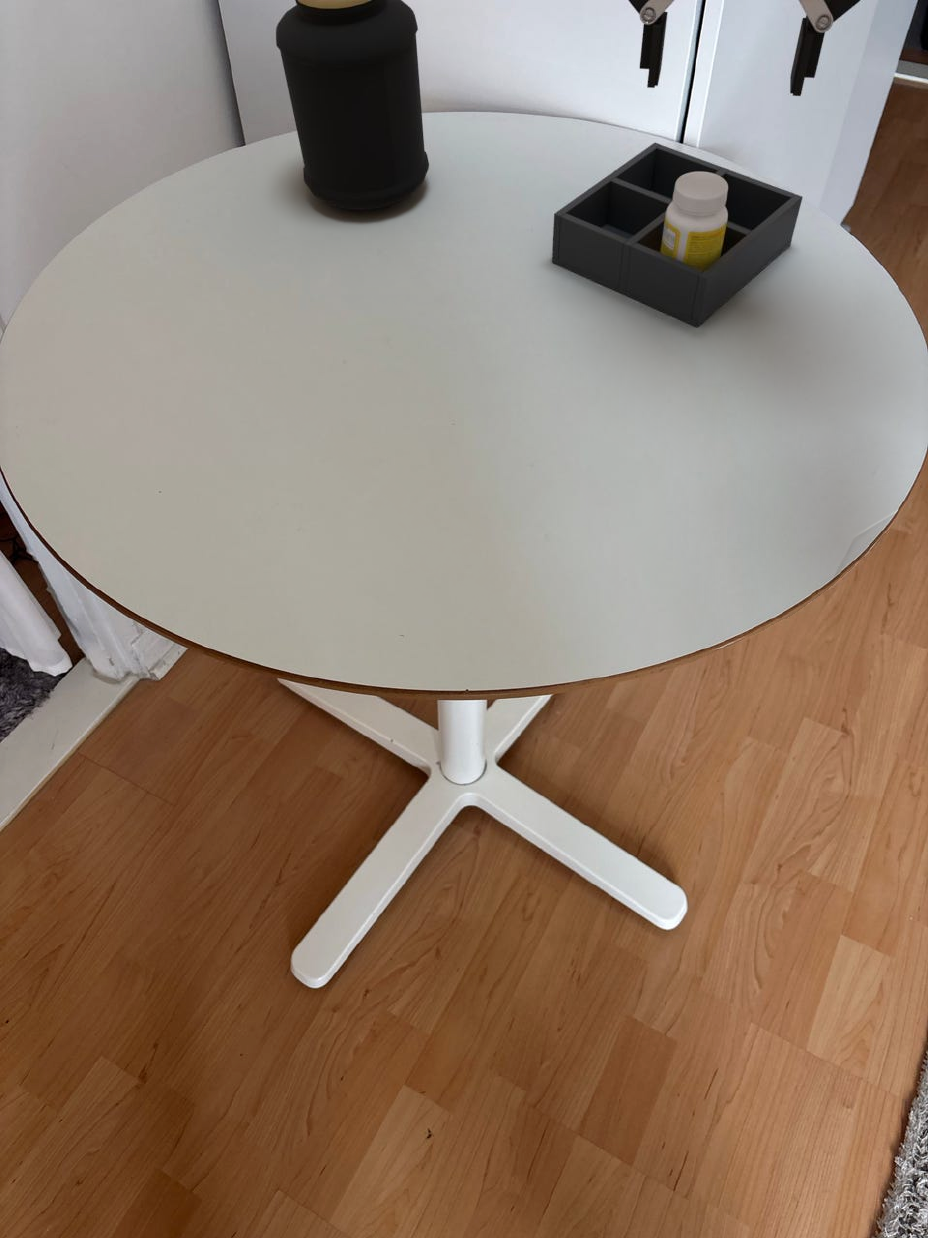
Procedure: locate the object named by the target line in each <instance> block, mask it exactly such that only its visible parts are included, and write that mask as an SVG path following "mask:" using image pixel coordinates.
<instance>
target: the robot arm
mask: <svg viewBox="0 0 928 1238" xmlns="http://www.w3.org/2000/svg"><path fill="white" fill-rule="evenodd" d="M627 1H628V2H629V3H630V5H631V6H632V7H633V8H634V9H635V11H636V12H637V13H638V15H639V20H640V21H641V23H642V24H643V26H642V27H643V28H642V36H641V37H642V38H641V47H640V50H641V51H640V58H639V69H640V70H648V76H647V85H646V88H649V89H650V88H651V89H655V88H656V87H659V82H660V77H661V73H662V65H663V57H664V56H663V55H664V49H665V48H664V47H665V40H666V30H667V22H668V11H666V10H667V9H668V8H669V7H670V6H671V5H672V4H673V3H674V2H675V0H627ZM860 1H861V0H798V2H799V3H800V6H801V7H802V9H803V11H804V13H805V17H802V19H801V23H800V29H799V34H798V37H797V43H796V48H795V53H794V57H793V62H792V66H791V71H790V77H789V80H790V81H789V83H790V84H789V93H790V94H792V96H793V97H801V96H802V93H803V88H804V84H805V79H806V78H807V79H814V78H815V77H816V73H817V70H818V64H819V60H820V56H821V53H822V47H823V43H824V38H825V35H826V32H828V31H829V30H830V29H831V28H832V27H833V24H834V23H835V22H836V21H838V20H839V19H840V18H841V17H842V16H844V15H845V14H846V13H847V12H848V11H849V10H851V9H852V8H854V7H855V6H856V5H857V4H859V2H860Z"/></svg>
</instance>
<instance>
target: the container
mask: <svg viewBox="0 0 928 1238" xmlns="http://www.w3.org/2000/svg"><path fill="white" fill-rule="evenodd" d="M294 1H295V4H296V5H294V6H293V7H291V8H290V9H289V10H287V11H286V12H285V13H284V15H282V17H281V19H280V20H279V21H278V23H277V25H276V28H275V44H276V45H275V46H276V47H277V49H279V51H280V56H281V62H282V66H283V70H284V71H283V72H284V76H285V80H286V85H287V90H288V95H289V100H290V104H291V110H292V114H293V119H294V123H295V127H296V131H297V132H296V133H297V138H298V143H299V146H300V151H301V156H302V162H303V169H302V173H303V182H304V184H305V185H306V187H307V188H308V189H309V191H310V192H311V193H312V194H313V196H314V197H315V198H317V199H318V200H321V201H322V202H324V203H326V204H328V205H330V206H332V207H336V208H342V209H346V210H359V211H364V210H365V211H366V210H372V209H381V208H384V207H387V206H391V205H393V204H396V203H398V202H400V201H402V200H403V199H405V198H407V197H409V196H411V195H412V194H413V193H414V192H415V191H416V190H417V189H418V188H420V187H421V185H422V184H423V183H424V181H425V178H426V177H427V174H428V171H429V169H430V162H429V157H428V154H427V152H426V151H425V150H426V149H425V139H424V124H423V112H422V111H423V109H422V97H421V85H420V73H419V71H420V69H419V56H418V44H417V32H418V30H419V27H418V23H417V19H416V14H415V12H414V10H413V9H412V8H411V7H410V6H409V5H408V3H405V1H403V0H294Z"/></svg>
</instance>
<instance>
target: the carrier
mask: <svg viewBox="0 0 928 1238" xmlns="http://www.w3.org/2000/svg"><path fill="white" fill-rule="evenodd" d="M691 172H709V173H713V174H716V175H719V176H720V177H722V178H723V179H724V180H725V181H726V182H727V184H728V192H727V199H726V204H725V207H726V209H727V212H728V219H727V225H726V230H725V235H724V240H723V245H722V251H721V256H720V258H719V259H718V260H717V261H716V262H715V263H714V264H712V265H711V266H710V267H709V268H708V269H706V270H705V271H702V270H700V269H697V268H695V267H693V266H690V265H688V264H686V263H683V262H681V261H678V260H676V259H674V258H671V257H669V256H667V255H664V254H662V253H660V252H661V244H662V237H663V230H664V223H665V215H666V211H667V208H668V206H669V205H670V203H671V202H672V201H673V193H674V188H675V183H676V181H677V179H678V178H679V177H681V176H682V175H684V174H687V173H691ZM803 197H804V196H802V195H800V194H795V193H794V192H791V191H788V190H785V189H783V188H779V187H777V186H775V185H772V184H770V183H766V182H765V181H761V180H758V179H756V178H753V177H750V176H748V175H745V174H742V173H740V172H736V171H734V170H731V169H729V168H726V167H722V166H721V165H720V166H719V165H718V164H715V163H713V162H709V161H707V160H704V159H701V158H699V157H696V156H694V155H690V154H688V153H685V152H682V151H679V150H677V149H674V148H671V147H668V146H666V145H663V144H661V143H657V142H653V143H652V144H650V145H649V146H648V147H646V148H645V149H643V150H642V151H640V152H639V153H638V154H636V155H635V156H634V157H632V158H631V159H629V160H628V161H626V162H625V163H624V164H622V165H620V166H619V167H618V168H617V169H615V170H614V171H612V172H611V173H609V174H608V175H606V176H605V177H604V178H602V179H601V180H600V181H598V182H597V183H595V184H594V185H592V186H591V187H590V188H588V189H587V190H586V191H584V192H583V193H581V194H580V195H578V196H577V197H576V198H574V199H573V200H572V201H570V202H568V203H567V204H566V205H564V206H563V207H562V208H560V209H559V210H557V211H556V212H555V213H554V214H553V227H552V228H553V231H552V251H551V253H552V254H551V263H553V264H555V265H558V266H560V267H562V268H564V269H566V270H568V271H571V272H573V273H575V274H577V275H580V276H582V277H584V278H587V279H589V280H591V281H593V282H595V283H598V284H599V285H602V286H604V287H606V288H608V289H611V290H613V291H615V292H618V293H620V294H622V295H623V296H626V297H629V298H631V299H633V300H635V301H638V302H640V303H642V304H644V305H646V306H648V307H651V308H653V309H655V310H657V311H660V312H662V313H664V314H666V315H668V316H671V317H673V318H675V319H678V320H680V321H682V322H685V324H688V325H691V326H693V327H694V328H699V327H700V326H701V325H702V324H703V323H705V321H706V320H708V319H709V318H710V317H711V316H712V315H714V313H716V312H717V311H718V310H719V309H720V308H721V307H722V306H724V305H725V304H726V303H728V301H730V299H731V298H733V297H734V296H735V295H736V294H738V293H739V291H741V290H742V289H743V288H744V287H745V286H747V284H749V283H750V282H751V281H752V280H753V279H754V278H755V277H757V276H758V275H759V274H760V273H761V272H762V271H763V270H764V269H766V268H767V267H768V266H769V265H770V264H771V263H773V262H774V260H775V259H777V258H778V257H779V256H780V255H781V254H782V253H783V252H785V251H786V250H787V249H788V248H789V247H790V246H791V244H792V240H793V236H794V232H795V228H796V225H797V220H798V217H799V213H800V209H801V205H802V201H803Z"/></svg>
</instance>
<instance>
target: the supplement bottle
mask: <svg viewBox="0 0 928 1238" xmlns="http://www.w3.org/2000/svg"><path fill="white" fill-rule="evenodd" d="M727 192H728V184H727V182H726V181H725V180H724V179H723V178H722V177H720V176H719V175H716V174H713V173H709V172H691V173H687V174H684V175H682V176H681V177H679V178H678V179H677V181H676V183H675V188H674V193H673V201H672V202H671V203H670V205H669V206H668V208H667V211H666V215H665V223H664V230H663V237H662V244H661V252H660V253H662V254H664V255H667V256H669V257H671V258H674V259H676V260H678V261H681V262H683V263H686V264H688V265H690V266H693V267H695V268H697V269H700V270H702V271H705V270H706V269H708V268H709V267H710V266H711V265H712V264H714V263H715V262H716V261H717V260H718V259H719V258H720V256H721V251H722V245H723V240H724V235H725V230H726V225H727V219H728V212H727V209H726V207H725V204H726V199H727Z"/></svg>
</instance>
